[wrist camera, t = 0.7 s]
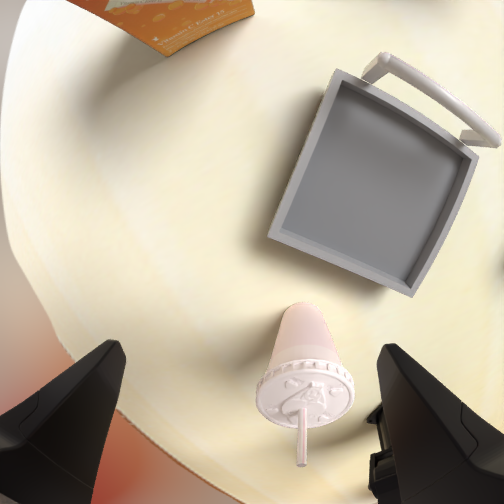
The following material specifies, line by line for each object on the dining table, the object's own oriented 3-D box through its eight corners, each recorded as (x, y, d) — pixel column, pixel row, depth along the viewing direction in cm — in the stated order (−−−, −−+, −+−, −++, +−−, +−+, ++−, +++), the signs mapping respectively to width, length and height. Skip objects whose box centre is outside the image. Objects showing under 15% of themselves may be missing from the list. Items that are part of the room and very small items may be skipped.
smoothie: (259, 338, 26) (234, 472, 13) (277, 280, 23) (261, 423, 10) (323, 352, 26) (334, 483, 13) (349, 297, 23) (388, 435, 10)
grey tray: (397, 278, 22) (433, 330, 15) (270, 223, 22) (260, 262, 15) (459, 144, 17) (519, 151, 10) (332, 70, 17) (355, 33, 10)
